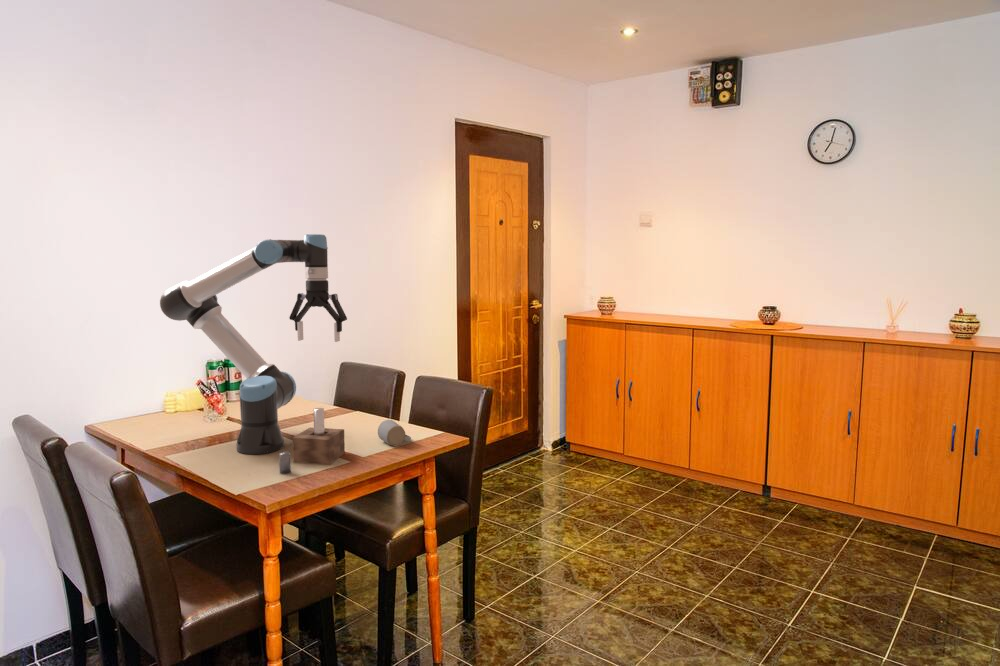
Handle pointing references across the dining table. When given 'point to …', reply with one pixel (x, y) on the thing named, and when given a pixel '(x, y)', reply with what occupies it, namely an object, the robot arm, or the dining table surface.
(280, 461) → the short pin
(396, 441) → the ceramic mug
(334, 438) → the hole block
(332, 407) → the dining table surface
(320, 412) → the tall pin
